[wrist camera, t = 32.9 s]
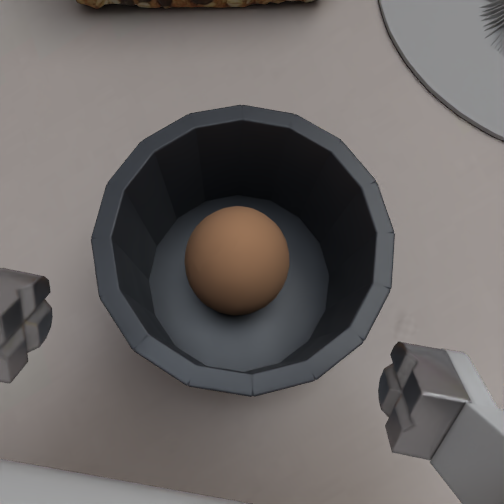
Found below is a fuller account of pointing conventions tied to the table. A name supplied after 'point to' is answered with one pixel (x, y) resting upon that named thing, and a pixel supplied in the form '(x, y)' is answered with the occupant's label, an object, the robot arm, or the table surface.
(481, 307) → the table surface
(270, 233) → the egg
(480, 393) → the robot arm
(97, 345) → the table surface
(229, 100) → the table surface
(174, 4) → the bread
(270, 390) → the pot
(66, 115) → the table surface
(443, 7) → the plate
